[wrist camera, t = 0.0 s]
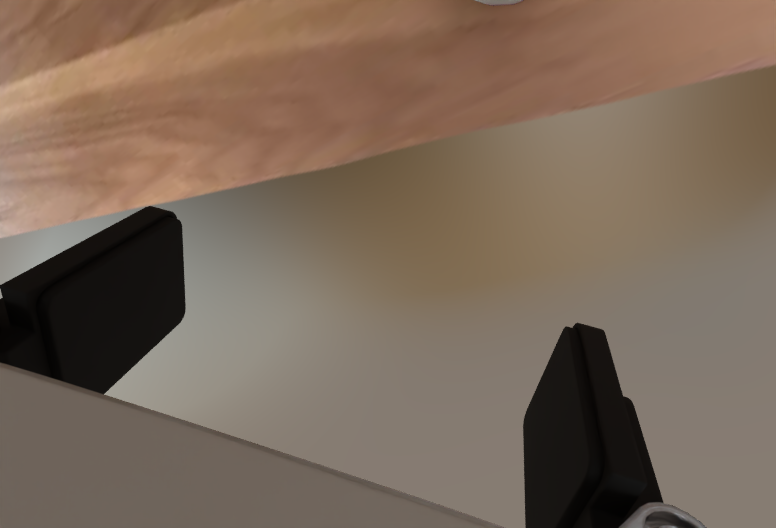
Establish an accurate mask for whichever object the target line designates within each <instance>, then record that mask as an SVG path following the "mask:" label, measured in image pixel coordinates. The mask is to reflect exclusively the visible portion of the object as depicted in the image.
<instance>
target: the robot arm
mask: <svg viewBox="0 0 776 528" xmlns="http://www.w3.org/2000/svg"><path fill="white" fill-rule="evenodd" d="M0 289H1V293H2V296H3V298H1V299H0V528H504V527H502V526H499V525H496V524H493V523H490V522H487V521H484V520H482V519H479V518H476V517H473V516H470V515H467V514H465V513H462V512H459V511H455V510H453V509H450V508H447V507H444V506H441V505H439V504H436V503H433V502H430V501H427V500H424V499H421V498H418V497H415V496H412V495H409V494H406V493H403V492H400V491H397V490H394V489H391V488H388V487H385V486H382V485H379V484H376V483H373V482H370V481H367V480H364V479H361V478H358V477H355V476H352V475H349V474H346V473H343V472H340V471H337V470H334V469H331V468H328V467H325V466H322V465H319V464H316V463H313V462H310V461H307V460H304V459H301V458H298V457H295V456H292V455H289V454H285V453H283V452H280V451H276V450H273V449H270V448H267V447H264V446H261V445H258V444H255V443H252V442H249V441H246V440H243V439H240V438H237V437H234V436H230V435H227V434H224V433H221V432H218V431H215V430H212V429H209V428H206V427H203V426H200V425H197V424H194V423H191V422H188V421H185V420H181V419H178V418H175V417H172V416H169V415H166V414H163V413H160V412H156V411H154V410H150V409H147V408H144V407H141V406H138V405H135V404H131V403H128V402H125V401H122V400H119V399H116V398H113V397H110V396H107V395H104V394H105V393H106V392H107V391H108V390H109V389H110V388H111V387H112V386H113V385H114V384H115V383H116V382H117V381H118V380H119V379H121V378H122V377H123V376H124V375H125V374H126V373H127V372H128V371H129V370H130V369H131V368H132V367H133V366H134V365H135V364H137V363H138V362H139V361H140V360H141V359H142V358H143V357H144V356H145V355H146V354H147V353H148V352H149V351H150V350H151V349H153V347H155V346H156V345H157V344H158V343H159V342H160V341H161V340H162V339H163V338H164V337H165V336H166V335H167V334H169V333H170V332H171V331H172V330H173V329H174V328H175V327H176V326H177V325H178V324H179V323H180V322H181V321H182V318H183V317H184V314H185V285H184V261H183V238H182V224H181V222H180V221H179V220H178V219H177V217H176V215H175V214H174V213H173V212H171V211H167V210H163V209H160V208H156V207H152V206H148V207H145V208H144V209H142V210H140V211H138V212H136V213H134V214H132V215H130V216H129V217H127V218H125V219H123V220H121V221H119V222H118V223H116V224H114V225H112V226H110V227H108V228H106V229H104V230H102V231H101V232H99V233H97V234H95V235H93V236H91V237H89V238H88V239H86V240H84V241H82V242H80V243H78V244H76V245H75V246H73V247H71V248H69V249H67V250H65V251H63V252H62V253H60V254H58V255H56V256H54V257H52V258H50V259H48V260H46V261H45V262H43V263H41V264H39V265H37V266H35V267H33V268H32V269H30V270H28V271H26V272H24V273H22V274H20V275H19V276H17V277H15V278H13V279H11V280H9V281H7V282H5V283H4V284H2V285H0ZM523 436H524V477H525V478H524V479H525V518H526V519H525V520H526V528H706V527H705V526H704V525H703V524H702V523H701V522H700V521H698V520H697V519H696V518H694V517H693V516H691V515H690V514H689V513H687V512H685V511H683V510H681V509H679V508H677V507H675V506H673V505H669V504H664V503H663V500H662V497H661V493H660V490H659V487H658V483H657V480H656V477H655V473H654V470H653V467H652V464H651V460H650V457H649V454H648V450H647V447H646V444H645V441H644V437H643V434H642V431H641V427H640V424H639V421H638V418H637V414H636V411H635V408H634V405H633V403H632V401H631V400H630V399H629V398H627V397H623V395H622V391H621V388H620V384H619V380H618V377H617V373H616V370H615V367H614V363H613V360H612V356H611V352H610V349H609V346H608V342H607V339H606V335H605V332H604V330H602V329H598V328H595V327H591V326H587V325H584V324H580V323H576V324H575V325H574V326H573V328H570V327H565V328H564V329H563V331H562V333H561V335H560V338H559V340H558V342H557V344H556V347H555V349H554V351H553V353H552V355H551V358H550V360H549V362H548V364H547V366H546V369H545V371H544V373H543V375H542V377H541V380H540V382H539V384H538V386H537V389H536V391H535V393H534V395H533V398H532V400H531V402H530V404H529V406H528V409H527V411H526V414H525V418H524V424H523Z"/></svg>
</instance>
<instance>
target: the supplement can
mask: <svg viewBox="0 0 776 528" xmlns="http://www.w3.org/2000/svg"><path fill="white" fill-rule="evenodd" d="M475 1H478V2H481V3H484V4H488V5H493V6H495V5H513V4H516V3H519V2H521V1H523V0H475Z"/></svg>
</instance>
